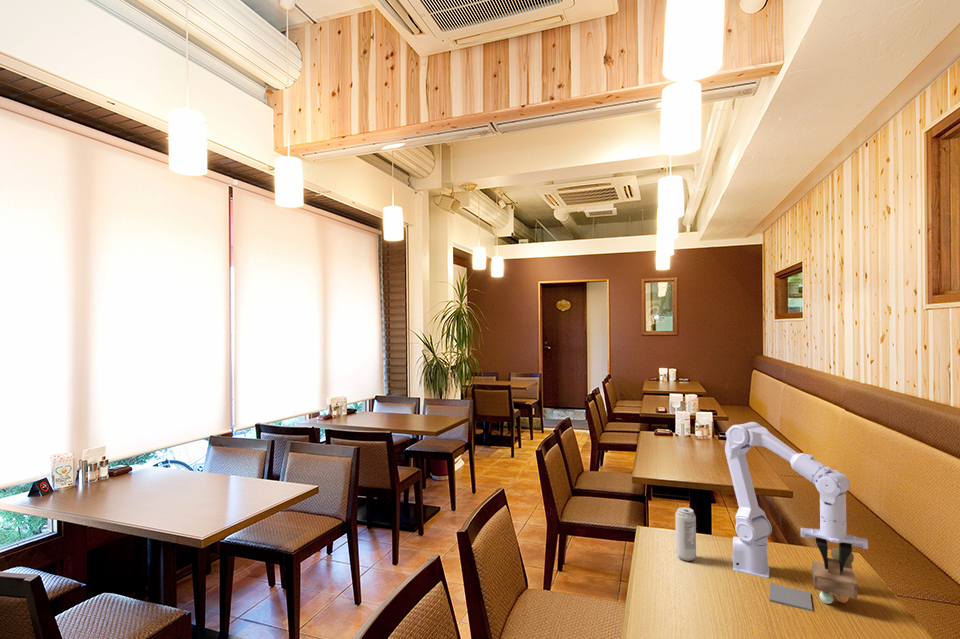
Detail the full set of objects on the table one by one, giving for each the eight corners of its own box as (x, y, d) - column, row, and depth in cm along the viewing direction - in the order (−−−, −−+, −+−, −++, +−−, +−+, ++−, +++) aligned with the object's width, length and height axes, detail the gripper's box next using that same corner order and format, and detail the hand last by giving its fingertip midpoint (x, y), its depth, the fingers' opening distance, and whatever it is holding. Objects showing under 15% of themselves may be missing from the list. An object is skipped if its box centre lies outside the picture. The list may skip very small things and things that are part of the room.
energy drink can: (687, 551, 161) (687, 505, 161) (700, 559, 155) (699, 512, 156) (671, 553, 160) (671, 507, 160) (684, 562, 154) (683, 514, 154)
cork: (861, 595, 135) (860, 554, 135) (836, 592, 136) (835, 552, 136) (849, 583, 141) (848, 545, 141) (825, 581, 142) (824, 543, 142)
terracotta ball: (835, 603, 131) (834, 591, 131) (833, 597, 134) (833, 586, 134) (849, 606, 129) (849, 594, 129) (847, 600, 132) (847, 589, 132)
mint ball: (820, 604, 131) (819, 592, 131) (819, 598, 133) (818, 587, 133) (833, 607, 129) (833, 595, 129) (832, 601, 132) (832, 590, 132)
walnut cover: (814, 589, 130) (814, 563, 130) (812, 574, 137) (811, 550, 138) (857, 598, 125) (856, 572, 125) (852, 582, 133) (852, 557, 133)
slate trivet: (769, 601, 132) (769, 599, 132) (770, 584, 140) (770, 583, 140) (812, 611, 127) (812, 609, 127) (810, 594, 135) (810, 592, 135)
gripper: (801, 517, 132) (801, 568, 132) (869, 529, 124) (870, 583, 124) (800, 509, 138) (800, 557, 138) (865, 519, 130) (865, 570, 130)
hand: (833, 569), depth 131 cm, fingers closed on walnut cover, 2 cm apart
